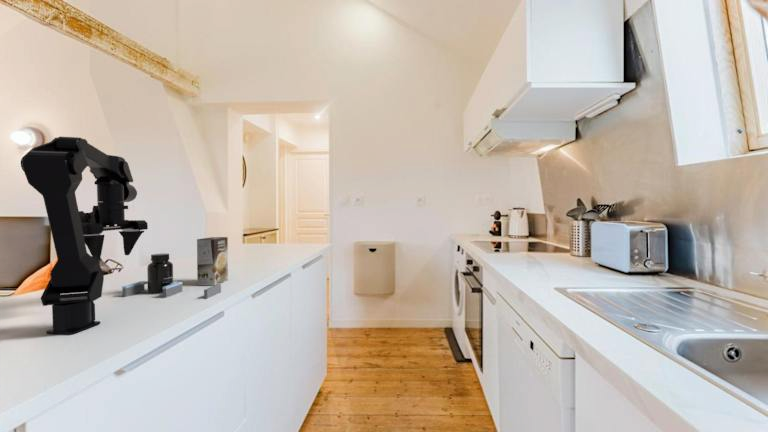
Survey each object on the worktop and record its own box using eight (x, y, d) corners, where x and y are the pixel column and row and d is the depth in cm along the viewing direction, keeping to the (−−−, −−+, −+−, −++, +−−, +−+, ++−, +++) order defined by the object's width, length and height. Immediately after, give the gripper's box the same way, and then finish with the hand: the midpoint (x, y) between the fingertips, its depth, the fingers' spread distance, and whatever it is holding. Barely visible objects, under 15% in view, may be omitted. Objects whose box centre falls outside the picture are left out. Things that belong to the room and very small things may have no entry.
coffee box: (215, 285, 112) (214, 239, 112) (196, 285, 112) (195, 239, 112) (228, 279, 121) (228, 236, 121) (212, 279, 122) (211, 236, 121)
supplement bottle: (171, 292, 103) (170, 255, 103) (145, 295, 101) (143, 256, 100) (175, 287, 110) (174, 252, 109) (151, 289, 107) (150, 253, 107)
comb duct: (207, 298, 97) (207, 288, 97) (122, 296, 99) (122, 286, 99) (221, 292, 104) (220, 282, 104) (141, 290, 106) (141, 281, 106)
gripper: (114, 202, 101) (116, 252, 101) (47, 201, 82) (49, 263, 83) (148, 202, 100) (149, 252, 100) (88, 201, 81) (90, 264, 82)
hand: (112, 257), depth 91 cm, fingers open, 9 cm apart
